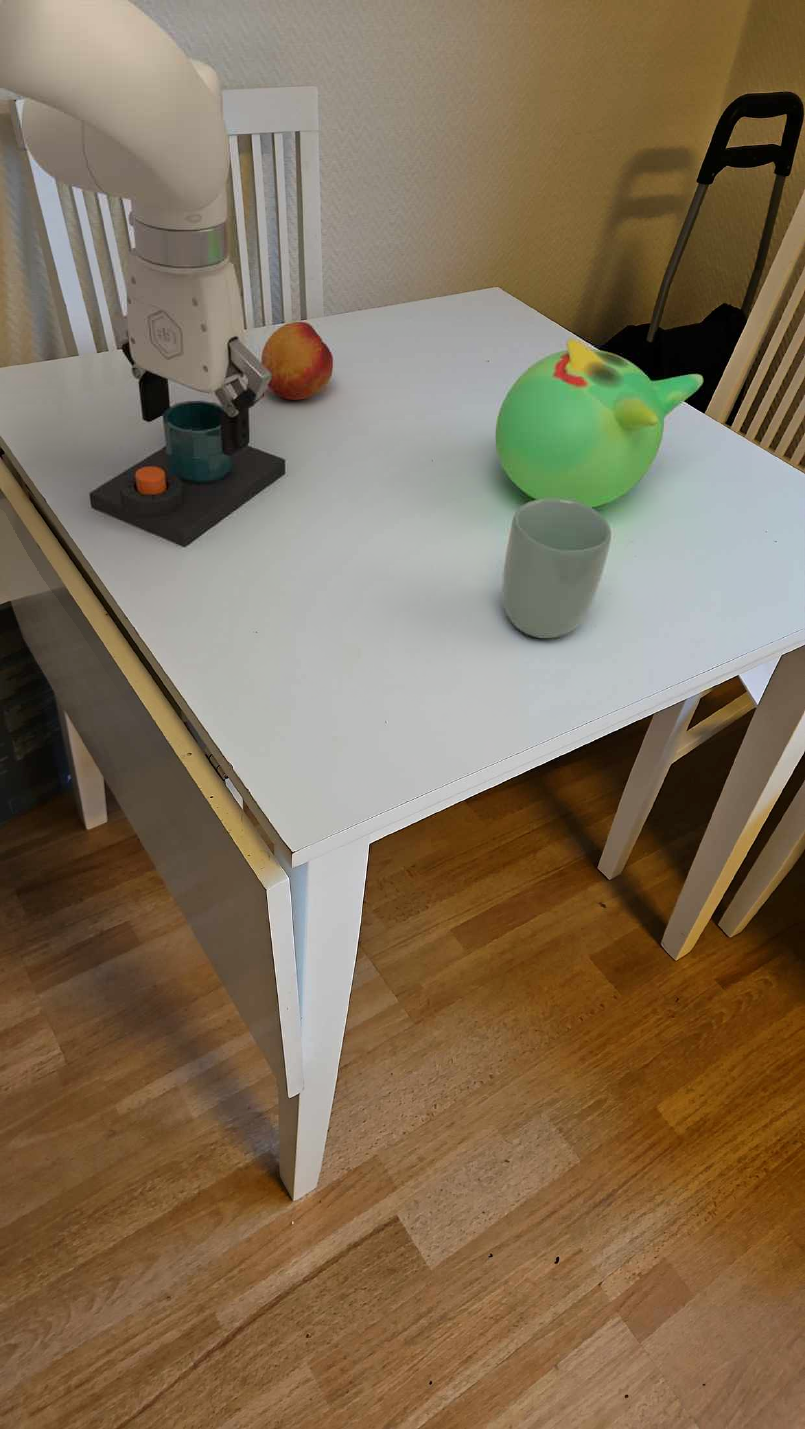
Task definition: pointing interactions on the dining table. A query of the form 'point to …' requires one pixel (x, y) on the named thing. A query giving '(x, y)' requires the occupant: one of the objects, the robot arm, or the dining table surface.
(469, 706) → the dining table surface
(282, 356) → the fruit
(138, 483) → the button
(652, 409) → the toy bird
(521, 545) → the cup
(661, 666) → the dining table surface
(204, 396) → the dining table surface
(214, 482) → the scale
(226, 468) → the teal hollow faceted cylinder
